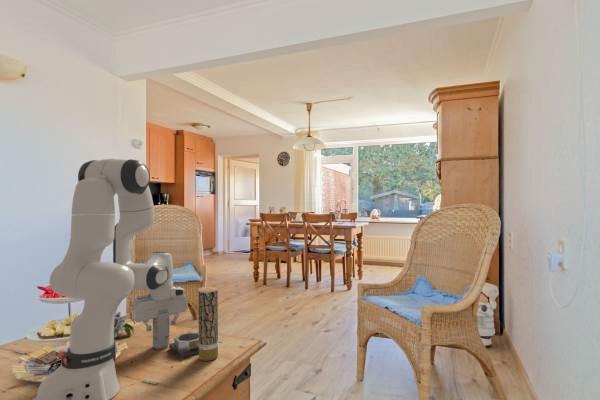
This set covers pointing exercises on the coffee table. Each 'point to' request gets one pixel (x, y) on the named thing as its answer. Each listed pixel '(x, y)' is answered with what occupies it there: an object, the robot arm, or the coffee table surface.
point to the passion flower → (122, 325)
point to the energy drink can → (161, 330)
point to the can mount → (185, 345)
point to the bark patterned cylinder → (208, 323)
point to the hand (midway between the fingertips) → (161, 327)
